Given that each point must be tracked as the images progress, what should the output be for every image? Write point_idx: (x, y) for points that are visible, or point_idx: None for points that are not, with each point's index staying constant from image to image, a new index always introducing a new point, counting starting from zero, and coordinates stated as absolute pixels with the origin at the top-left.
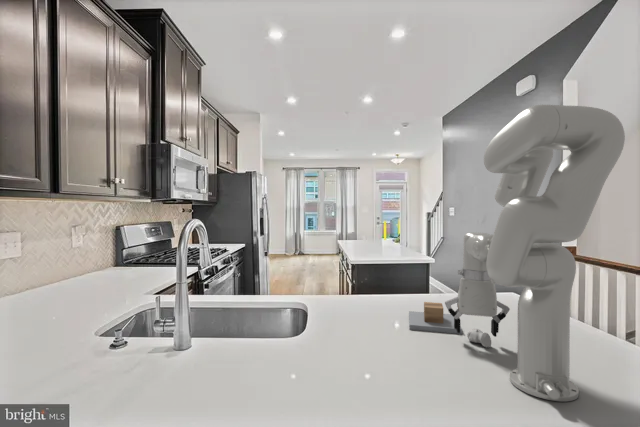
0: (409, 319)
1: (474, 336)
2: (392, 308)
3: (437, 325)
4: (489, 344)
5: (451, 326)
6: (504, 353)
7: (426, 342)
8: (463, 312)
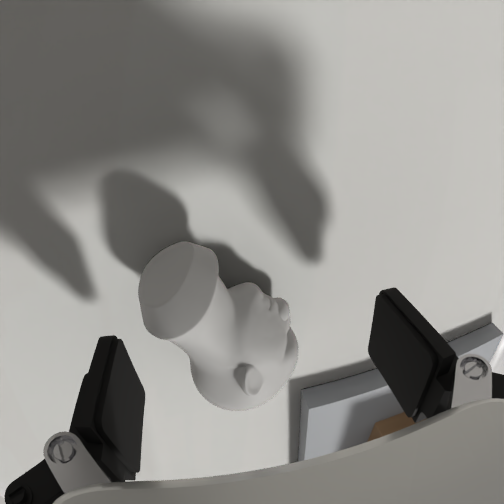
0: None
1: (262, 315)
2: None
3: None
4: (153, 264)
5: (350, 414)
6: (64, 201)
7: (487, 201)
8: (494, 406)
